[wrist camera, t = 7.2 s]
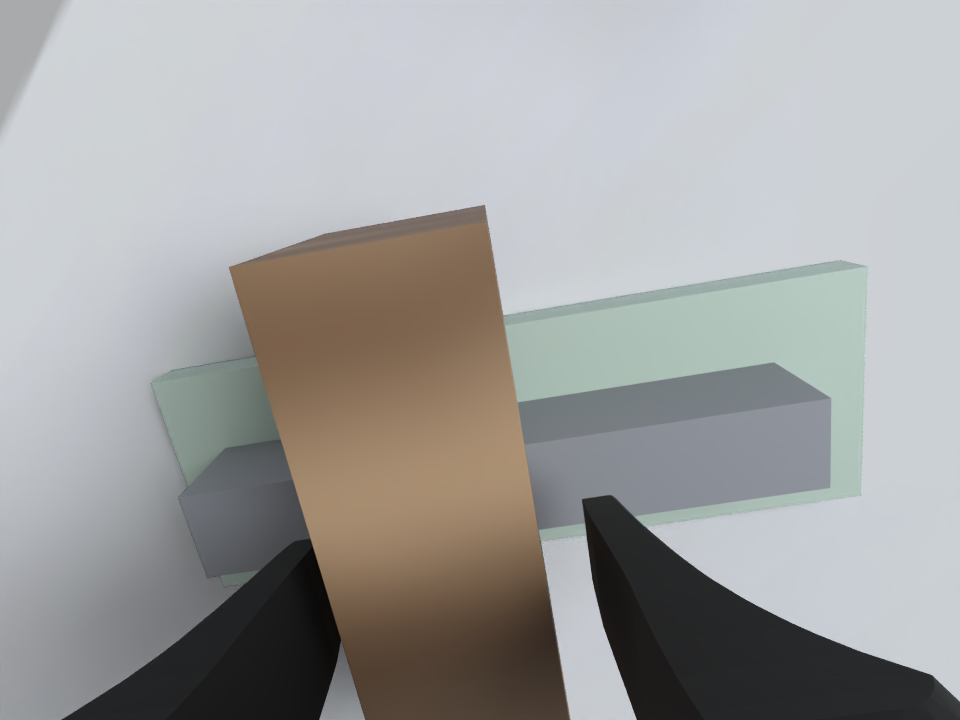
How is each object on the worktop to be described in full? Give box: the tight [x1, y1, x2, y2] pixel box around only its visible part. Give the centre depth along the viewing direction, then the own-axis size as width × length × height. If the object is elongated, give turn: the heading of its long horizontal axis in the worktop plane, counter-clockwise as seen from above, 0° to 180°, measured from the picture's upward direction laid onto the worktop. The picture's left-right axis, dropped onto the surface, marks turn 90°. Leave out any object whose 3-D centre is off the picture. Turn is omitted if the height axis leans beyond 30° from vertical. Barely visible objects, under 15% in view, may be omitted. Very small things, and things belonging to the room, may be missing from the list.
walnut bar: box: [229, 205, 570, 720], centre depth 12 cm, size 14×4×5 cm, turn 10°
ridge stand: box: [151, 260, 867, 587], centre depth 16 cm, size 7×20×4 cm, turn 100°
